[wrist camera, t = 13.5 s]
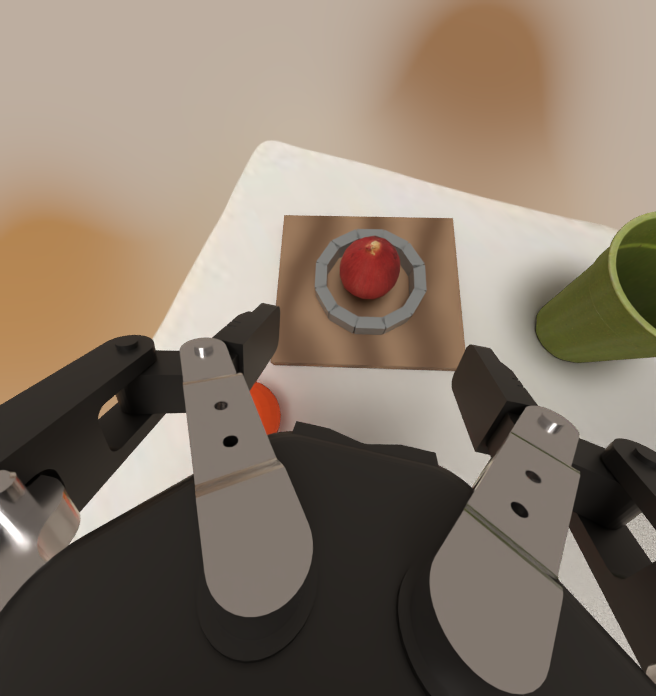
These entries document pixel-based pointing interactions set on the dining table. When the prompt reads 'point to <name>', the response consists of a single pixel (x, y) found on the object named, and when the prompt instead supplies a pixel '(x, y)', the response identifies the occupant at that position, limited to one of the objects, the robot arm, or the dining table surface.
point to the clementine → (266, 407)
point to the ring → (370, 324)
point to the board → (362, 349)
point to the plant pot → (608, 302)
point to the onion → (370, 267)
